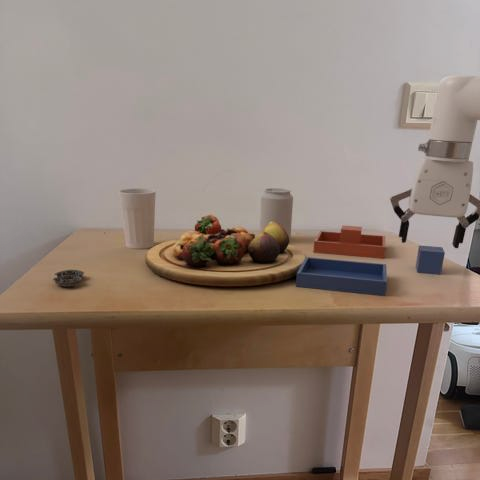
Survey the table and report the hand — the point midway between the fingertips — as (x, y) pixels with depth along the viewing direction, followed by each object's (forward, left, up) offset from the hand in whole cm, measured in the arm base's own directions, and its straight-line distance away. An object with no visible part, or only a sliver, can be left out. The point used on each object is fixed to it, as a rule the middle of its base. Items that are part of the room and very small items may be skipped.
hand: (429, 243), depth 95 cm
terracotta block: (+15, -12, -5) cm, 20 cm away
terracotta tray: (+15, -12, -5) cm, 20 cm away
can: (+33, -15, -6) cm, 37 cm away
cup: (+61, +1, -6) cm, 62 cm away
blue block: (-1, 0, -5) cm, 5 cm away
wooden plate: (+39, +9, -5) cm, 40 cm away
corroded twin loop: (+61, +29, -5) cm, 68 cm away
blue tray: (+15, +13, -5) cm, 21 cm away
